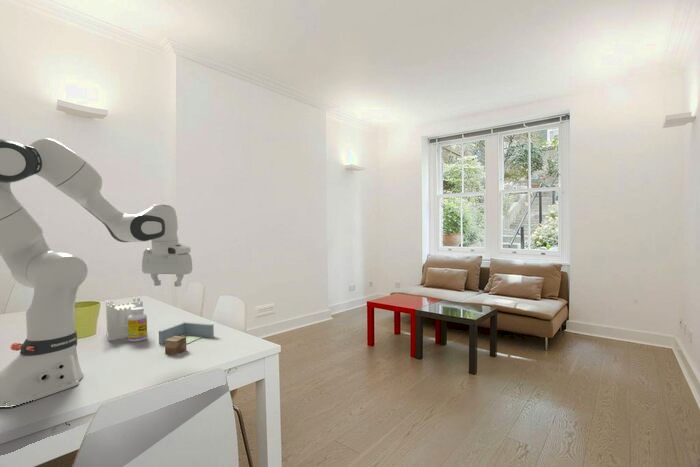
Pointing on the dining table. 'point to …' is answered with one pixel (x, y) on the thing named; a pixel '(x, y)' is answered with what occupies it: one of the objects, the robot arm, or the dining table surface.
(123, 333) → the castle model
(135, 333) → the supplement bottle
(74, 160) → the robot arm
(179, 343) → the walnut cube
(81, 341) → the dining table surface
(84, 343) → the dining table surface
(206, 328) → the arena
